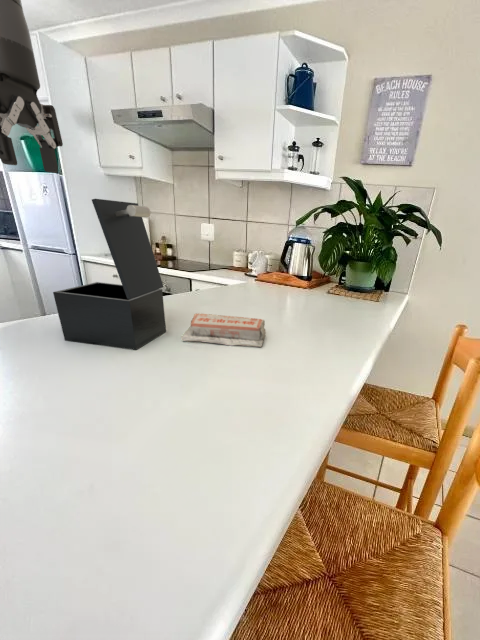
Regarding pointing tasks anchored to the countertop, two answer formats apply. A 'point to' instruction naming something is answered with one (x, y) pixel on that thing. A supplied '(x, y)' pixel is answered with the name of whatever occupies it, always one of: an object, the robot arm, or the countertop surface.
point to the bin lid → (129, 245)
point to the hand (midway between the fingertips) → (32, 168)
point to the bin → (110, 315)
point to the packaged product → (226, 330)
